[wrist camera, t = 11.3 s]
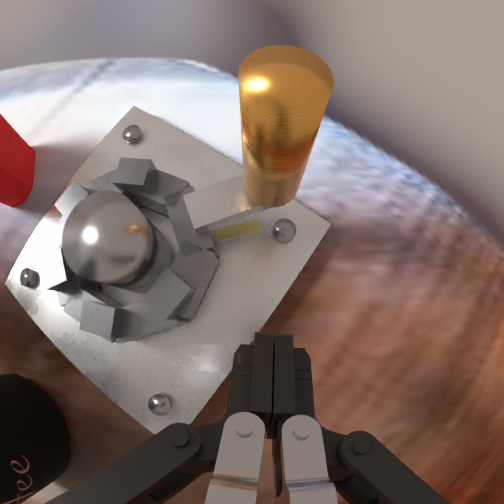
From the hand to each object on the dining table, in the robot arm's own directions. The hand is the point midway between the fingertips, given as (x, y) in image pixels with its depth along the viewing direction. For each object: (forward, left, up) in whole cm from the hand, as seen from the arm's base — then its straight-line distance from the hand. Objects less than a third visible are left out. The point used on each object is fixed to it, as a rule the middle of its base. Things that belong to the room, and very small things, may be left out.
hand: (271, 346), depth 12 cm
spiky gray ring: (+2, +9, -8) cm, 12 cm away
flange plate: (-1, +10, -10) cm, 14 cm away
